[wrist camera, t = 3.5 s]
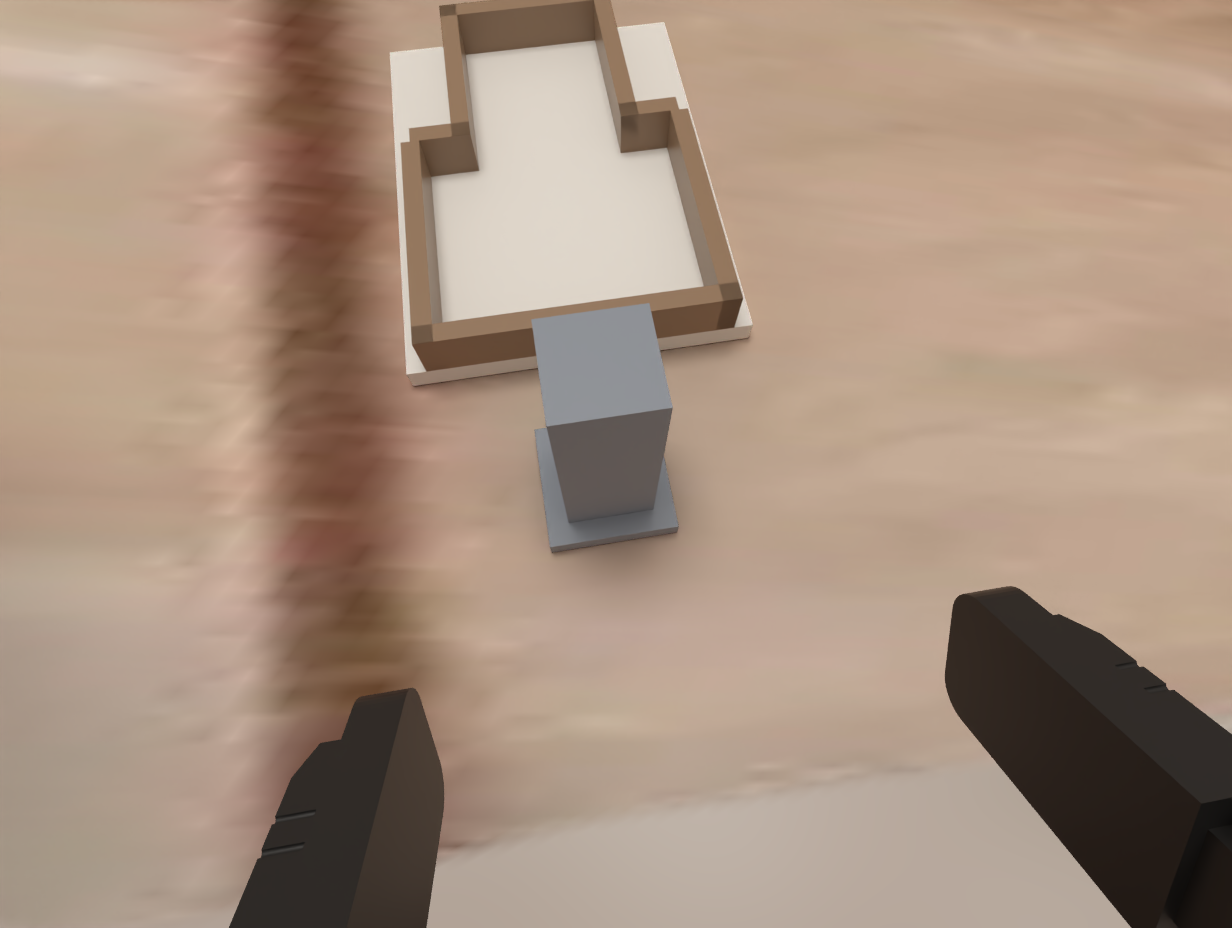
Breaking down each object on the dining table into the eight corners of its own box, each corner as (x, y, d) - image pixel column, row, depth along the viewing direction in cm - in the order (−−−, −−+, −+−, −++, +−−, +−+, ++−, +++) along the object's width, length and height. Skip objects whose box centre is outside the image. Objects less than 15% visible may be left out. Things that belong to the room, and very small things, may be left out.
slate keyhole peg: (552, 552, 30) (517, 461, 19) (536, 437, 32) (498, 298, 21) (676, 532, 30) (710, 431, 20) (653, 420, 33) (672, 275, 22)
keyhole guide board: (413, 385, 33) (390, 347, 30) (395, 70, 42) (376, 12, 39) (748, 337, 34) (763, 295, 31) (662, 40, 43) (667, -19, 40)
